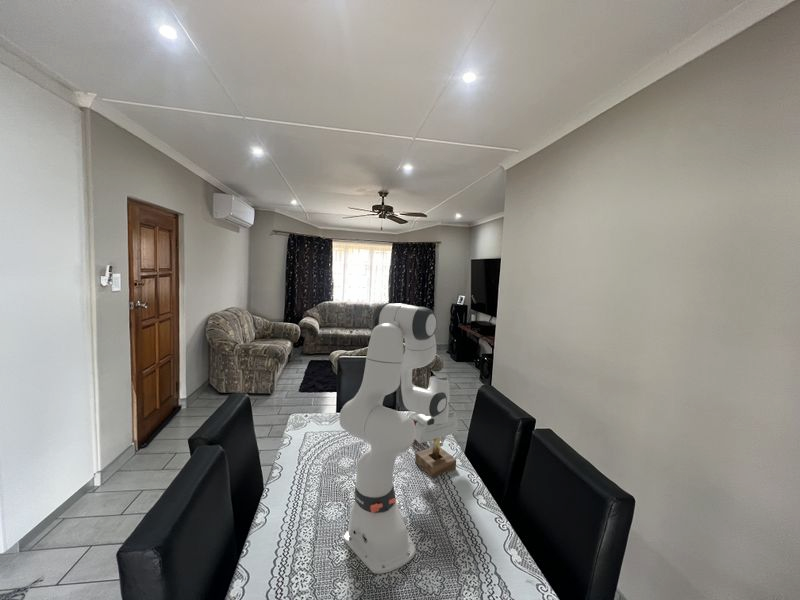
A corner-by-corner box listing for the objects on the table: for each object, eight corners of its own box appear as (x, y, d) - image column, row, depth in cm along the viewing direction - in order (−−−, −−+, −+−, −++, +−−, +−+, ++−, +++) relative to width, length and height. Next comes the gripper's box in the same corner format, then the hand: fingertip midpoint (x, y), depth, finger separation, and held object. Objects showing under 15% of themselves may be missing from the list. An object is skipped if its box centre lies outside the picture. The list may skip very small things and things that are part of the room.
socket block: (455, 468, 135) (456, 459, 134) (432, 477, 128) (432, 467, 128) (437, 454, 145) (438, 445, 144) (415, 461, 138) (415, 452, 138)
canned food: (425, 442, 154) (426, 420, 154) (408, 442, 155) (409, 419, 154) (424, 434, 162) (425, 413, 161) (408, 434, 162) (409, 412, 161)
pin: (440, 457, 136) (441, 434, 135) (434, 459, 134) (435, 436, 134) (436, 454, 138) (437, 431, 138) (430, 455, 137) (431, 432, 136)
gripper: (452, 407, 143) (450, 437, 144) (412, 416, 132) (411, 449, 133) (461, 412, 138) (460, 444, 139) (422, 423, 127) (420, 457, 128)
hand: (436, 447), depth 136 cm, fingers closed on pin, 3 cm apart
